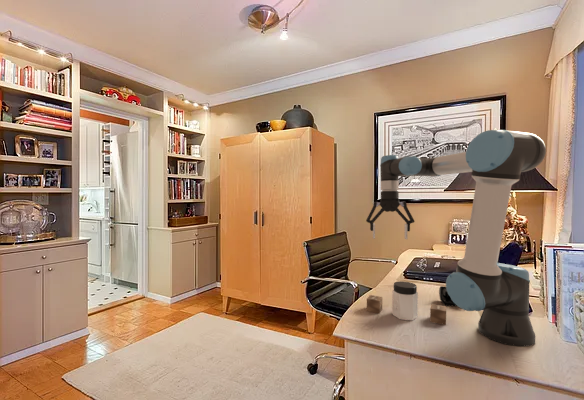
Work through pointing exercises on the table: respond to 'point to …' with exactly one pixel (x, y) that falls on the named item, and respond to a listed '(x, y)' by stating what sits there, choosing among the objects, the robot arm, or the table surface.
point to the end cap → (445, 297)
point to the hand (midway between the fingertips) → (389, 238)
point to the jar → (405, 300)
